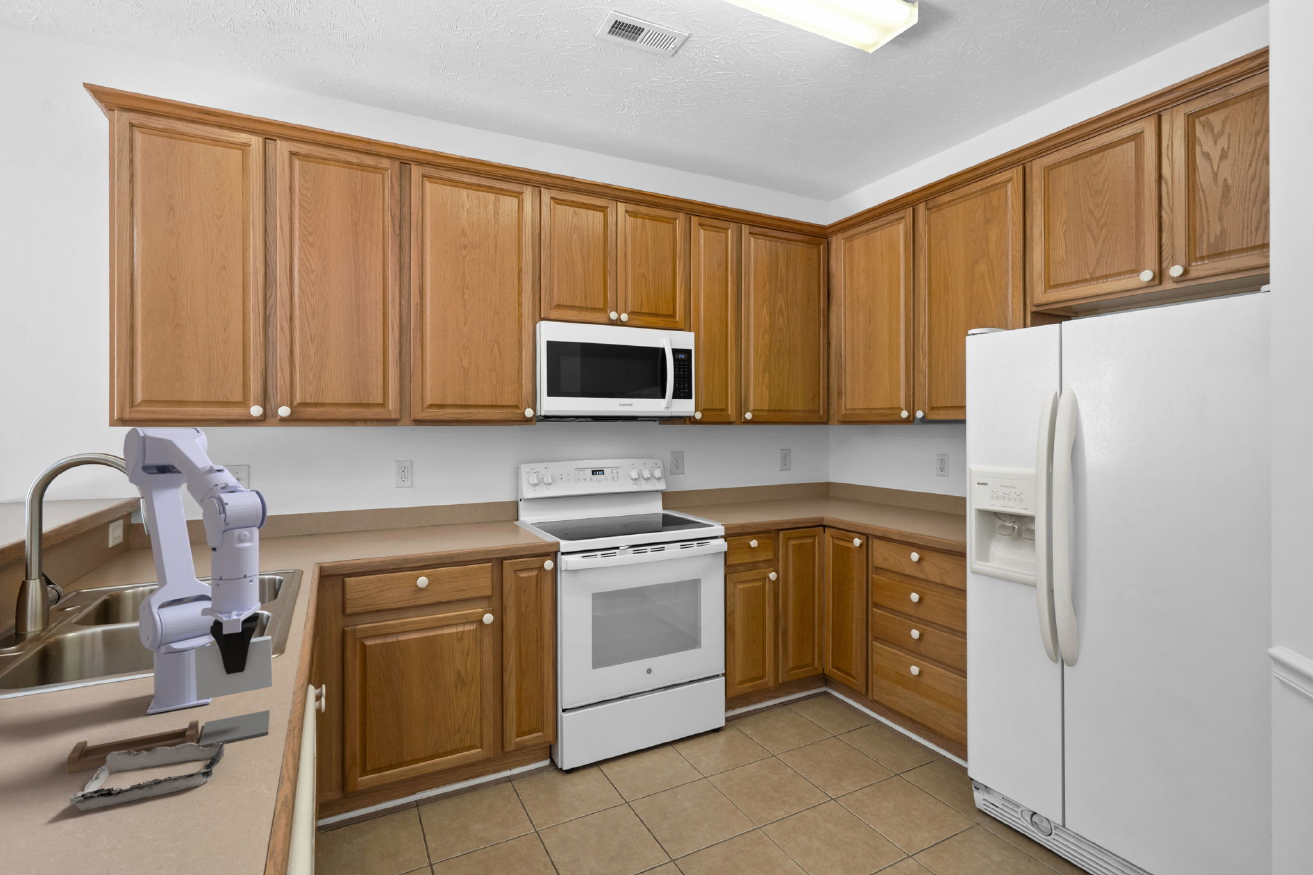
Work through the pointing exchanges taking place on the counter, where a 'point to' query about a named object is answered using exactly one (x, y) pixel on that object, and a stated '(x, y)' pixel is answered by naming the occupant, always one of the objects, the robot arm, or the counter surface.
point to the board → (219, 683)
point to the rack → (128, 747)
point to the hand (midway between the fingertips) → (235, 669)
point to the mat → (235, 728)
